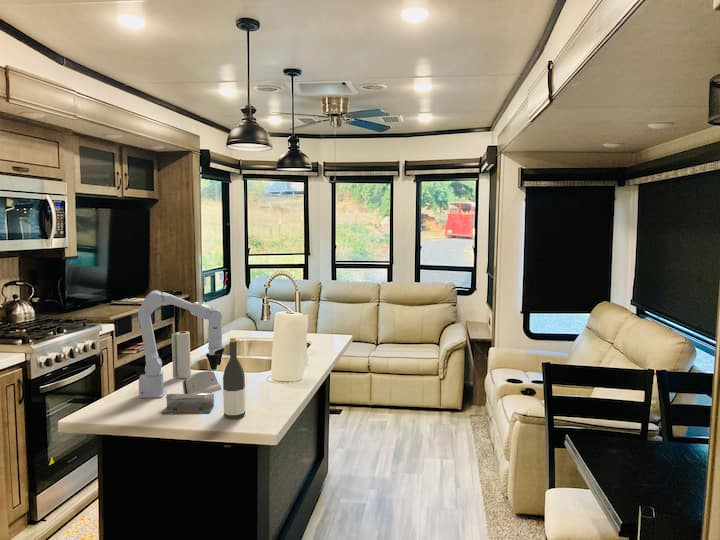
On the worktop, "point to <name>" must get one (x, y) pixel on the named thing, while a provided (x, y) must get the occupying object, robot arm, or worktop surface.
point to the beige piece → (201, 383)
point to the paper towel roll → (181, 354)
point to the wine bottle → (234, 385)
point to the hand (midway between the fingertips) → (215, 367)
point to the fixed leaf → (189, 403)
